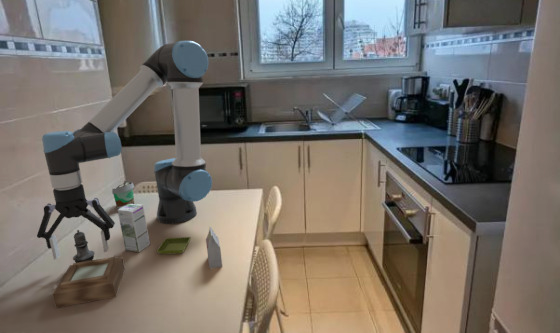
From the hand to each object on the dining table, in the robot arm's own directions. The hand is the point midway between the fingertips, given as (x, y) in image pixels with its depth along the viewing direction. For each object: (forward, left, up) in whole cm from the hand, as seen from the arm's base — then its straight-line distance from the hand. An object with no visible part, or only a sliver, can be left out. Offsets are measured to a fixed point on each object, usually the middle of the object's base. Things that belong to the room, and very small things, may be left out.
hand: (82, 253), depth 107 cm
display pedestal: (-5, +13, -4) cm, 15 cm away
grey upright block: (-38, +11, -5) cm, 40 cm away
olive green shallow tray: (-26, -2, -5) cm, 27 cm away
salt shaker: (0, 0, -5) cm, 5 cm away
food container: (-5, -50, -5) cm, 51 cm away
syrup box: (-14, -7, -5) cm, 17 cm away
